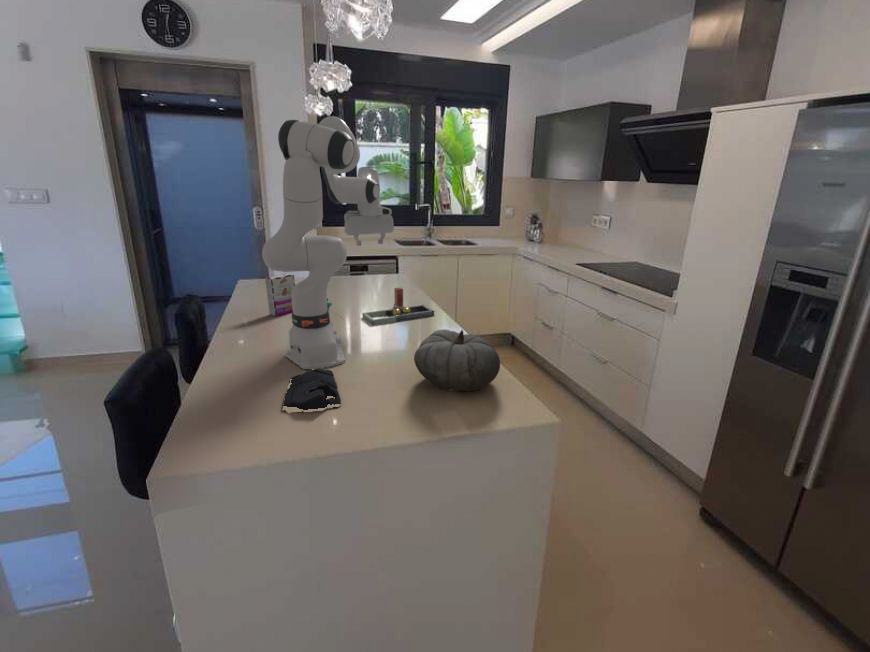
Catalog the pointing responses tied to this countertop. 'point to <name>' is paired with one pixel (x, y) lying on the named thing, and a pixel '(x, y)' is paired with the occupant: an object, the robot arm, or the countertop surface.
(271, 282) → the candy bar box
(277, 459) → the countertop surface
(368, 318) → the tray
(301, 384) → the dark slate chunk
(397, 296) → the red-brown bar
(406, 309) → the yellow-brown round piece
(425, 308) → the tray
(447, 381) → the gourd
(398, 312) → the shiny gold ball
